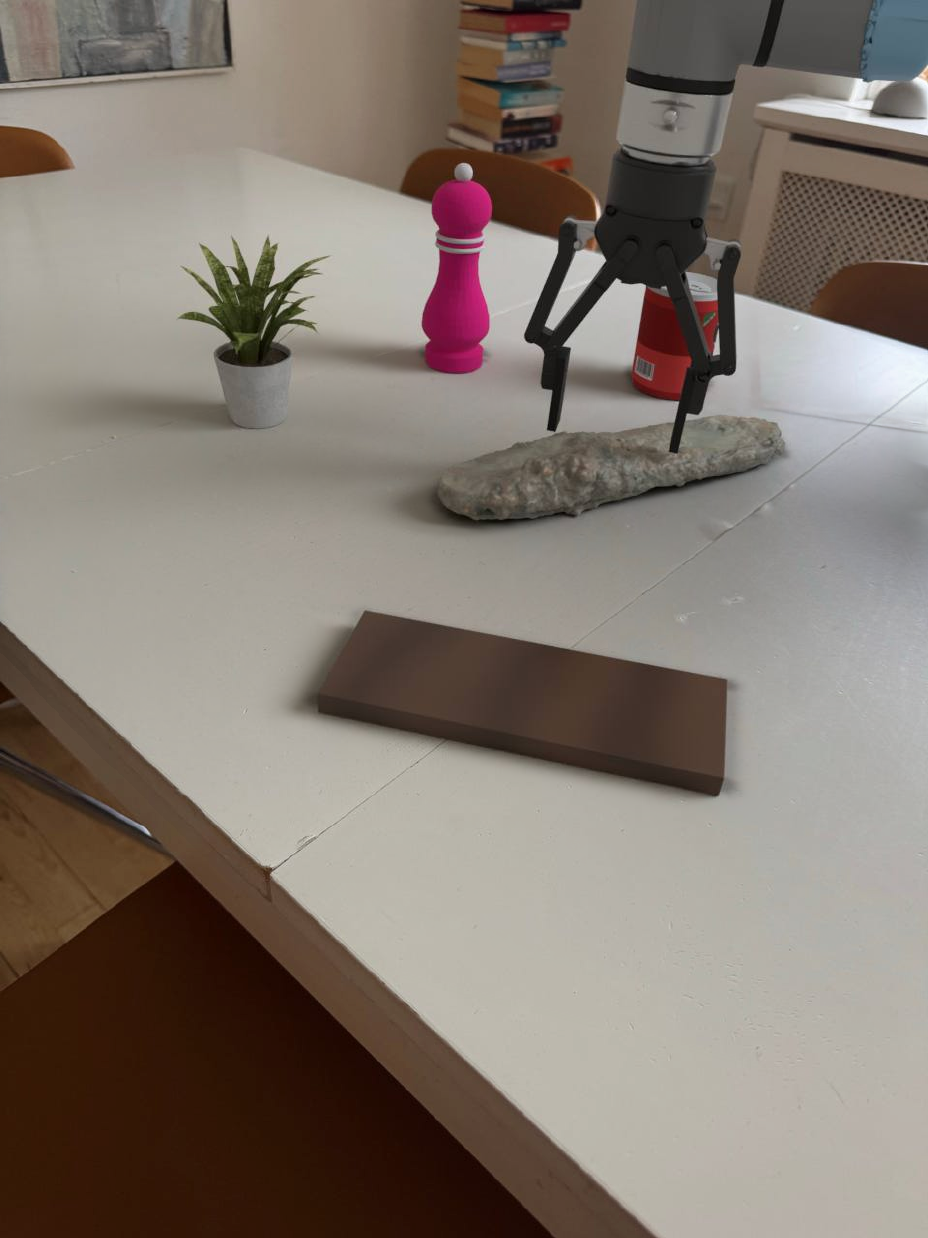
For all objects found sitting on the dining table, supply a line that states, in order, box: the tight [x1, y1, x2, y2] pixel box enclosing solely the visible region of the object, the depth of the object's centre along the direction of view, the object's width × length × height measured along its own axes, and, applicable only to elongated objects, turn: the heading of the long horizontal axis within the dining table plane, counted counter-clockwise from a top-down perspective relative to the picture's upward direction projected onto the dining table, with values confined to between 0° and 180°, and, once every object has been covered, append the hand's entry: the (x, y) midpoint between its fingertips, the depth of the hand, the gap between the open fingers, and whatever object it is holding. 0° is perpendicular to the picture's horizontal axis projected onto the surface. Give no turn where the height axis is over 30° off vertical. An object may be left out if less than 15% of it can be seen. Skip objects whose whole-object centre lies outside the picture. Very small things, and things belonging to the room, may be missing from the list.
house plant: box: [177, 234, 333, 430], centre depth 85 cm, size 14×14×16 cm
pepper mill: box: [421, 162, 493, 374], centre depth 99 cm, size 7×7×20 cm
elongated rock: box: [437, 414, 786, 521], centre depth 84 cm, size 35×5×10 cm
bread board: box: [316, 609, 728, 797], centre depth 60 cm, size 24×9×2 cm, turn 76°
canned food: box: [631, 271, 719, 401], centre depth 100 cm, size 8×8×11 cm
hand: (613, 435), depth 83 cm, fingers open, 10 cm apart
